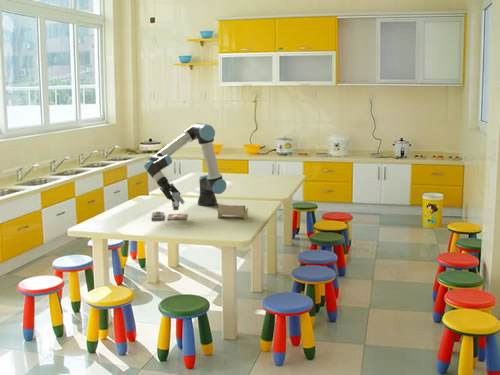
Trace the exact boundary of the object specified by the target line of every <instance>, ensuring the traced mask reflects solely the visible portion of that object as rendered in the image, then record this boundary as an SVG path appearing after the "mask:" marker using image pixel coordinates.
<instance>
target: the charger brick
mask: <svg viewBox="0 0 500 375" xmlns="http://www.w3.org/2000/svg"><path fill="white" fill-rule="evenodd" d="M171 195H172V197H174V198H175V199H176V200H177V202H178V203H179V204H178V206H176V205H175V204H174V203H173V202H172V201H171V202H172V205H171V206H172V208H173V209H172V210H173V211H179V207H180V201H179V193H172V192H171Z"/></svg>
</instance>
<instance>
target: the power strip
mask: <svg viewBox="0 0 500 375" xmlns="http://www.w3.org/2000/svg"><path fill="white" fill-rule="evenodd" d="M164 217H165V212H164V211H155V212H152V213H151V221H152V222H157V221H159V222H161V221H164Z"/></svg>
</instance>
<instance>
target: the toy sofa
mask: <svg viewBox="0 0 500 375" xmlns="http://www.w3.org/2000/svg"><path fill="white" fill-rule="evenodd" d="M217 207H218V208H217V209H216V211H217V218H218V219H220V218H221V217H222V216H236V217H237V216H239V217H242V219H244V220H246V219H248V216H249V215H248V213H249V212H248V211H249V207H246V205H228V204H217Z"/></svg>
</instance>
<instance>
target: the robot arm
mask: <svg viewBox="0 0 500 375" xmlns="http://www.w3.org/2000/svg"><path fill="white" fill-rule="evenodd" d="M215 136H216V131H215V129H214V127H213V126H212V125H210V124H207V123H199V122H198V123H194V124H192V125H190V126H189V127H188V128H187V129H185V130H184V131H183V132H182V134H181V135H179V136H178V137H177V138H176V139H173V140H172V141H171V142H170V143H169V144H167V145H166V146H165V147H162V149H161V150H159V151H158V152H156V153H155V154H151V155H150V156H149V157H148V161H147V162H146V163H145V164H144V165H143V166H144V169H145V171H146V172H147V173H148V174H149V176H151V178H152V179H153V180H154V182H155V183H156V184H157V186H158V187H159V190H160V191H161V192H162V194H164V196H165V198H167V200H169V201H171V202H173V203H174V204H175V205H176V206H178V204H179V205H180V204H181V205H184V204H185V203H186V201H185V200H184V199H183V198H182V196H181V192H180V191H179V190H178V188H176V186H174V183H171V184H170V183H169V179H168V178H167V177H166V176H165V174H164V173H163V172H162V170H164V169H165V168H167V167H168V166H170V165H171V164H172V163H173V160H172V157H171V156H172V155H174V154H175V153H176V152H177V151H179V150H180V149H182V148H183V147H185V145H187V144H188V143H192V142H193V141H195V140H197V141H198V144H199V145H200V147H201V151H202V154H203V159H204V164H205V169H206V172H207V174H203V175H200V176H199V196H198V199H197V205H198V206H201V207H204V206H205V207H211V206H216V205H218V200H217V196H216V195H222V194H223V193H224V192H226V189H227V182H226V181H225V179H223V175H222V174H221V172H220V171H219V166H218V160H217V158H216V157H217V156H216V153H215V148H214V147H215V146H214V144H213V143H214V142H215V140H214V139H215ZM172 193H179V203H178V202H177V200H176V199H175V198H174V197H172Z"/></svg>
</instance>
